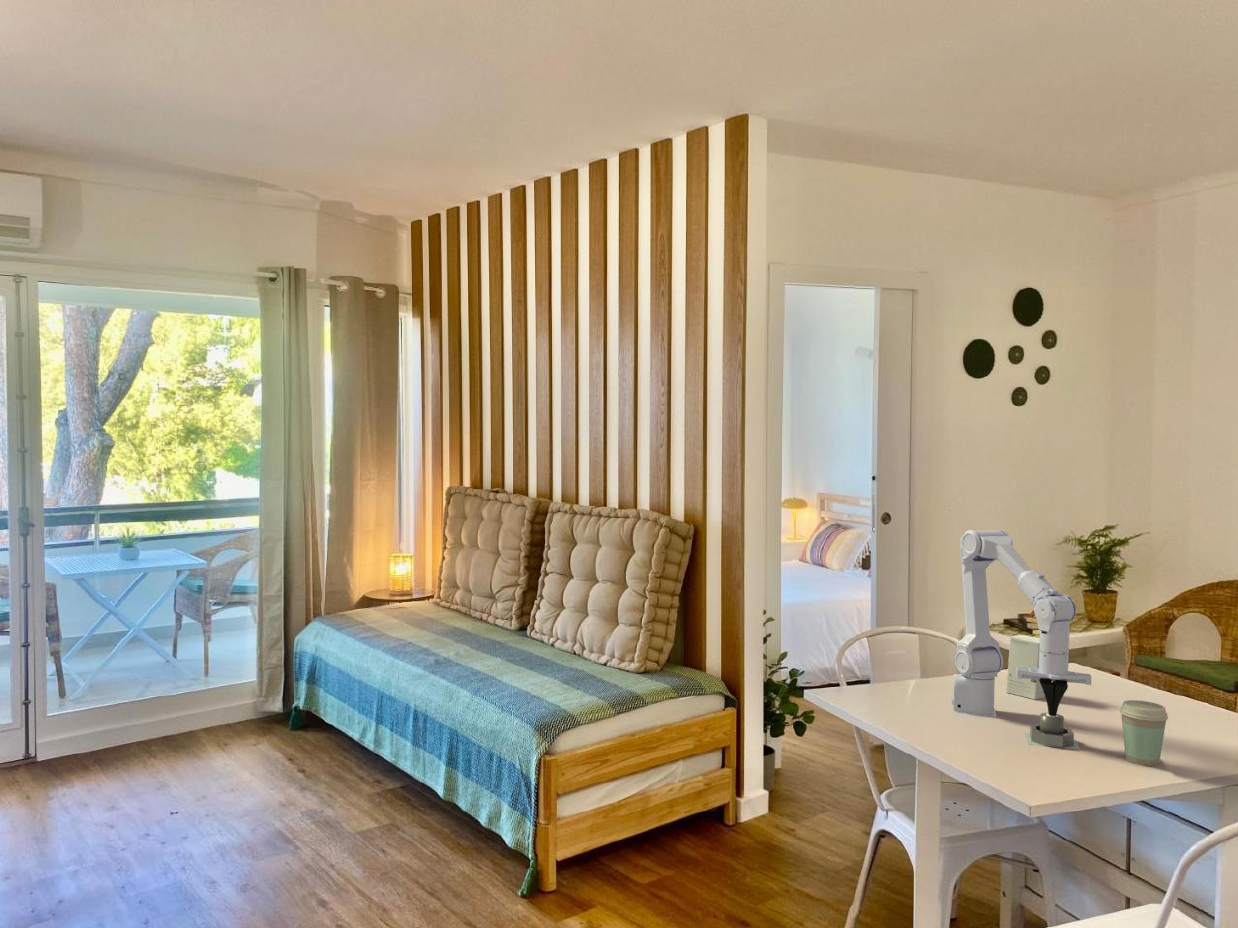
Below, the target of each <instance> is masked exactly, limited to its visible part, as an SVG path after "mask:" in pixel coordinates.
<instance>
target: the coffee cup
mask: <svg viewBox="0 0 1238 928" xmlns="http://www.w3.org/2000/svg"><path fill="white" fill-rule="evenodd" d="M1119 714H1121V724H1122V734H1123V735H1122V736H1123V737H1122V738H1123V743H1124V744H1123V745H1124V755H1125V756H1124V757H1125V760H1126V761H1127V762H1129V763H1132V764H1135V765H1138V766H1143V767H1156V766H1159V765H1160V760H1161V756H1162V755H1161V754H1162V748H1163V747H1162V746H1163V742H1164V737H1165V736H1164V735H1165V728H1166V723H1167V720H1169V717H1168V713H1167V711H1166V708H1165V706H1163V705H1161V704H1159V703H1155V702H1153V701H1152V702H1151V701H1145V700H1138V699H1136V700H1135V699H1131V700H1130V699H1129V700H1125V701H1123V702H1122V705H1121V707H1120V709H1119Z"/></svg>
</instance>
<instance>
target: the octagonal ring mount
mask: <svg viewBox="0 0 1238 928" xmlns="http://www.w3.org/2000/svg"><path fill="white" fill-rule="evenodd" d="M1029 725H1030V724H1029ZM1029 734H1030V738H1031V741H1032V742H1035V743H1038V744H1041V745H1043V746H1042V747H1048V746H1049V747H1050V748H1057V747H1058V748H1059V749H1066V748H1065V747H1070V746H1074V739H1075V733H1074V732H1073V729H1071V728H1068V727H1065V726H1064V732H1063V734H1061V735H1059V734H1050V733H1045V732H1042V731H1040V723H1036V724H1031V725H1030V727H1029Z"/></svg>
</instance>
